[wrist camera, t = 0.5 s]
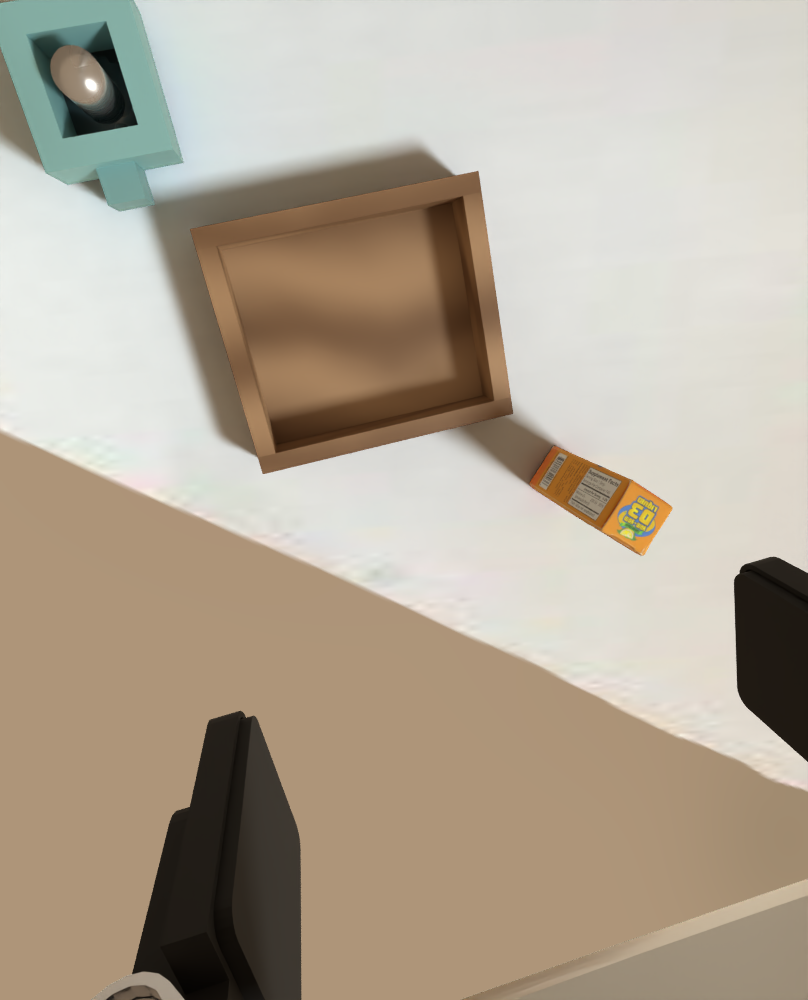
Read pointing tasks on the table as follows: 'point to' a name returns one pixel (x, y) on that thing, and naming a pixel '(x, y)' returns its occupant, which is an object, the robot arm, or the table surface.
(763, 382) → the table surface
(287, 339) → the tray
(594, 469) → the supplement box
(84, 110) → the grey metallic peg stand
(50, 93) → the teal tabbed square frame
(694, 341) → the table surface
